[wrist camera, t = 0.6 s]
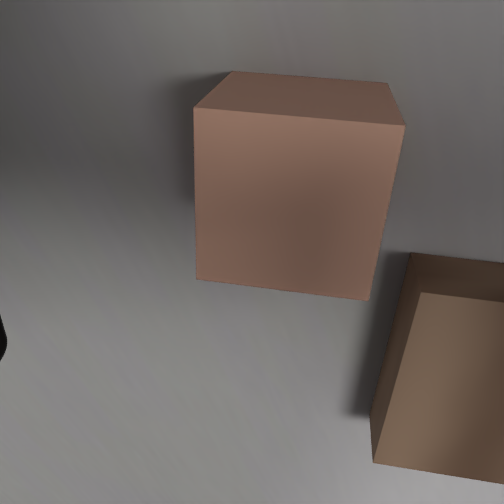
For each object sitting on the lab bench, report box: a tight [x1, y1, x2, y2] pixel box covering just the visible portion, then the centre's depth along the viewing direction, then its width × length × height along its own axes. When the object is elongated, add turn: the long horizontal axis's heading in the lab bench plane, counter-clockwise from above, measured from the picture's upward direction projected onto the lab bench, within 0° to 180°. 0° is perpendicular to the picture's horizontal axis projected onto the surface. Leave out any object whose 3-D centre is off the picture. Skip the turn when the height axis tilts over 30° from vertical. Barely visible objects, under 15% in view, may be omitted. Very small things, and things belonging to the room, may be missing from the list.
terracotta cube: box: [193, 71, 406, 301], centre depth 15 cm, size 5×5×5 cm
